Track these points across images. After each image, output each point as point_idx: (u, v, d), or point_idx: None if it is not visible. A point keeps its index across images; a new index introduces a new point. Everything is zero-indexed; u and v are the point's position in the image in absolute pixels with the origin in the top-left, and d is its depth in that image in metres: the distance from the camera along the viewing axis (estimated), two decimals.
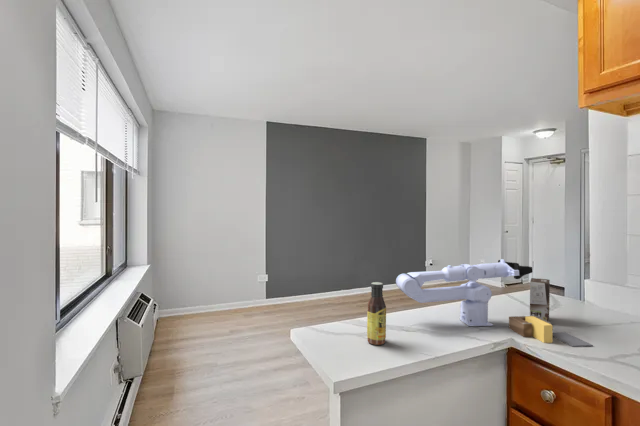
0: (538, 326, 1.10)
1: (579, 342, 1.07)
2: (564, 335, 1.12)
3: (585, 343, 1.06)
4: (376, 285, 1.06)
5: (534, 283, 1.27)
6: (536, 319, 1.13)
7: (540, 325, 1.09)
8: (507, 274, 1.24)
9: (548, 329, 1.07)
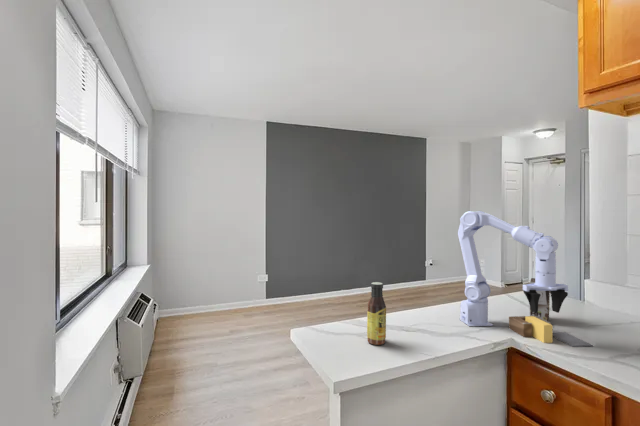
0: (538, 326, 1.10)
1: (579, 342, 1.07)
2: (564, 335, 1.12)
3: (585, 343, 1.06)
4: (376, 285, 1.06)
5: None
6: (536, 319, 1.13)
7: (540, 325, 1.09)
8: (534, 284, 1.10)
9: (548, 329, 1.07)
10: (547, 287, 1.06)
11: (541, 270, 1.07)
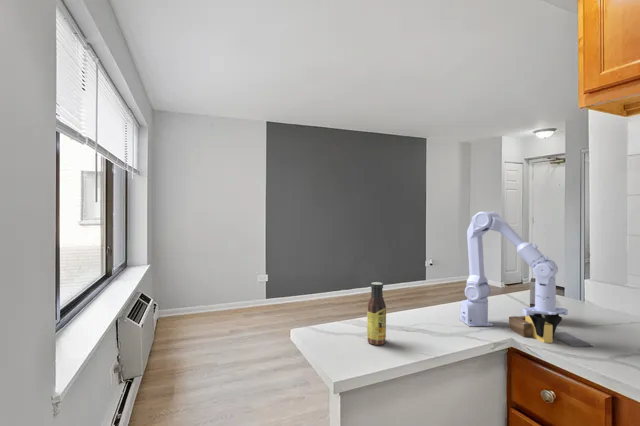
0: None
1: (579, 342, 1.07)
2: (564, 335, 1.12)
3: (585, 343, 1.06)
4: (376, 285, 1.06)
5: (534, 283, 1.27)
6: None
7: None
8: (534, 308, 1.10)
9: (548, 329, 1.07)
10: (547, 312, 1.06)
11: (541, 294, 1.07)
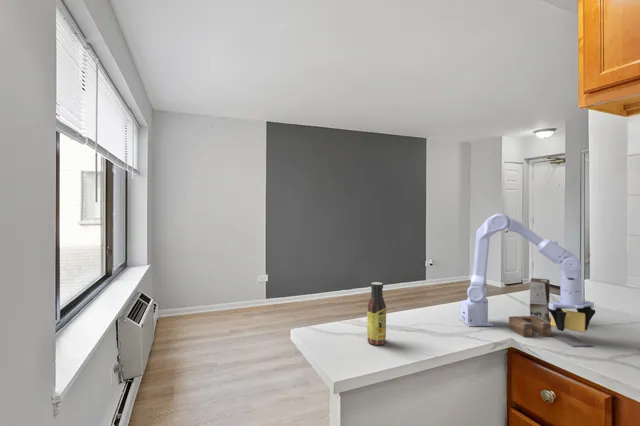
0: (574, 315, 1.09)
1: (579, 342, 1.07)
2: (564, 335, 1.12)
3: (585, 343, 1.06)
4: (376, 285, 1.06)
5: (534, 283, 1.27)
6: (564, 310, 1.12)
7: (577, 314, 1.08)
8: (560, 302, 1.11)
9: (584, 318, 1.08)
10: (573, 305, 1.07)
11: (569, 289, 1.07)
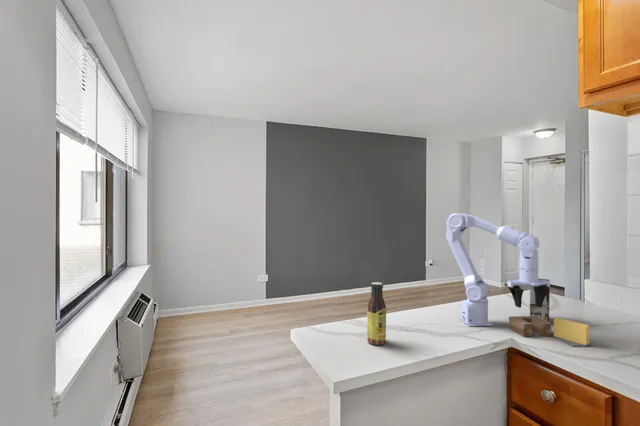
0: (576, 328, 1.07)
1: None
2: None
3: None
4: (376, 285, 1.06)
5: None
6: (567, 320, 1.10)
7: (579, 327, 1.06)
8: (518, 280, 1.16)
9: (587, 330, 1.05)
10: (530, 283, 1.12)
11: (526, 267, 1.13)
